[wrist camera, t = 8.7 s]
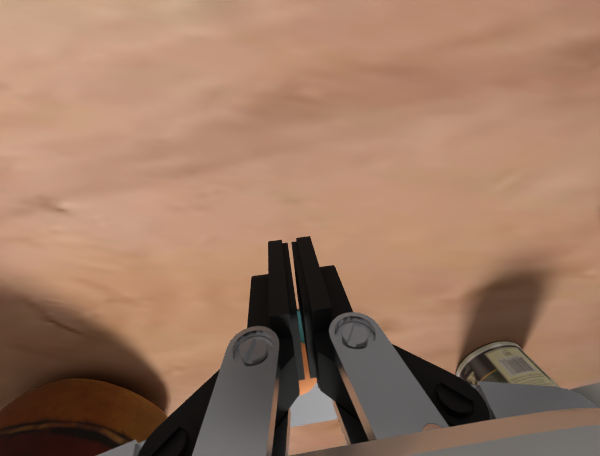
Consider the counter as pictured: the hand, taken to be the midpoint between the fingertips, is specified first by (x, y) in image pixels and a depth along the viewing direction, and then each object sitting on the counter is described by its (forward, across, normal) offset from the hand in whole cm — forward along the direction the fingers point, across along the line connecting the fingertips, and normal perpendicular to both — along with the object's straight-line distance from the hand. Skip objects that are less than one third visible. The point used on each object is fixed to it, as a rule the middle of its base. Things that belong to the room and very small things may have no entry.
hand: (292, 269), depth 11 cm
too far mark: (+13, 0, +34) cm, 37 cm away
